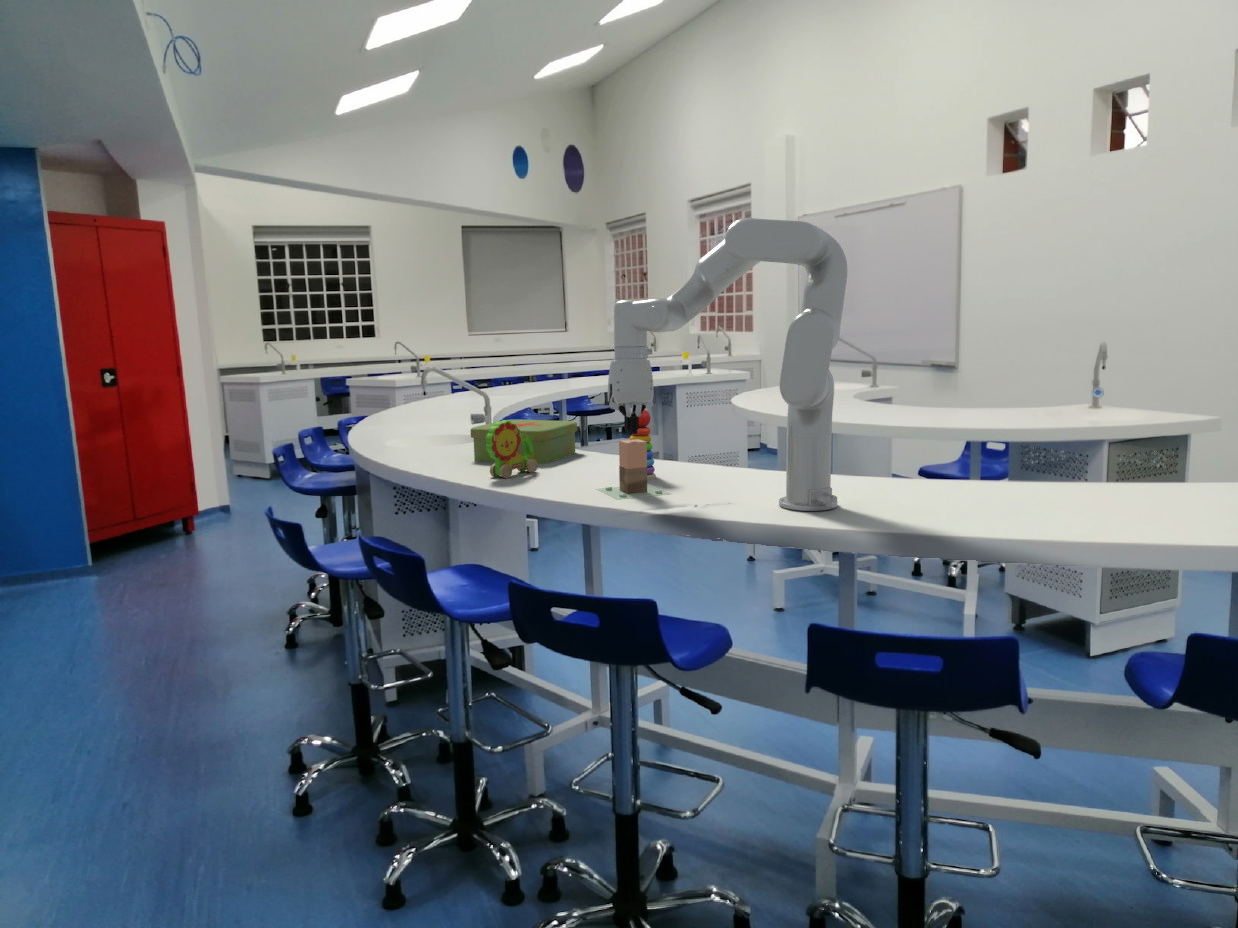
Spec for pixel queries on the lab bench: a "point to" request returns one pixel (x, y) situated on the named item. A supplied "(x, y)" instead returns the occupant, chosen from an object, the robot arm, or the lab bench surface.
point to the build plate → (618, 494)
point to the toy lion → (509, 450)
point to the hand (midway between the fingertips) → (631, 433)
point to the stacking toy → (644, 436)
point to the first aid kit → (533, 439)
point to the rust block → (633, 454)
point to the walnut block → (633, 480)
